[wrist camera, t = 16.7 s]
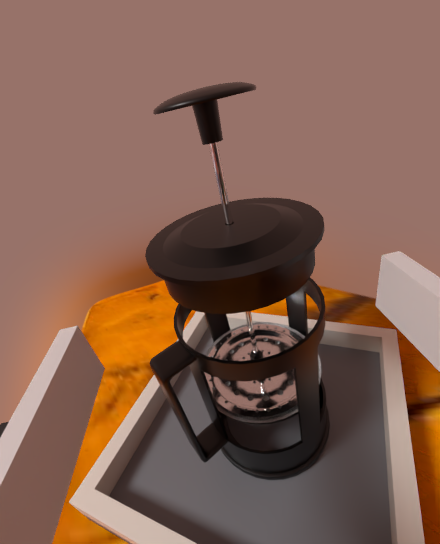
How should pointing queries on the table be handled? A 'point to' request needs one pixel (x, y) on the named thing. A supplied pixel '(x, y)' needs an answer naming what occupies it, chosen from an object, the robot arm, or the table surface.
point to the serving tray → (259, 492)
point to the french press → (244, 298)
